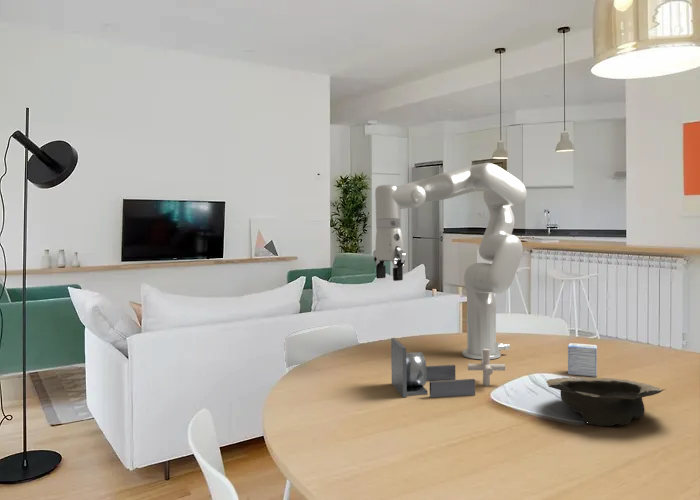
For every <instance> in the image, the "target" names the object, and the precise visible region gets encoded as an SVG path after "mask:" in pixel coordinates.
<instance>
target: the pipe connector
mask: <svg viewBox="0 0 700 500" xmlns="http://www.w3.org/2000/svg"><path fill="white" fill-rule="evenodd" d="M490 360H491V359H490V349H483V359H481V361H480V363H467V370H468V371H482V385H483V386H484V387H489V386H490V385H491V377H490V376H491V375H492V374H493V372H494V371H498V372H499V371H501V372H502V371H503V372H504V371H506V364H503V363H490Z"/></svg>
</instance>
